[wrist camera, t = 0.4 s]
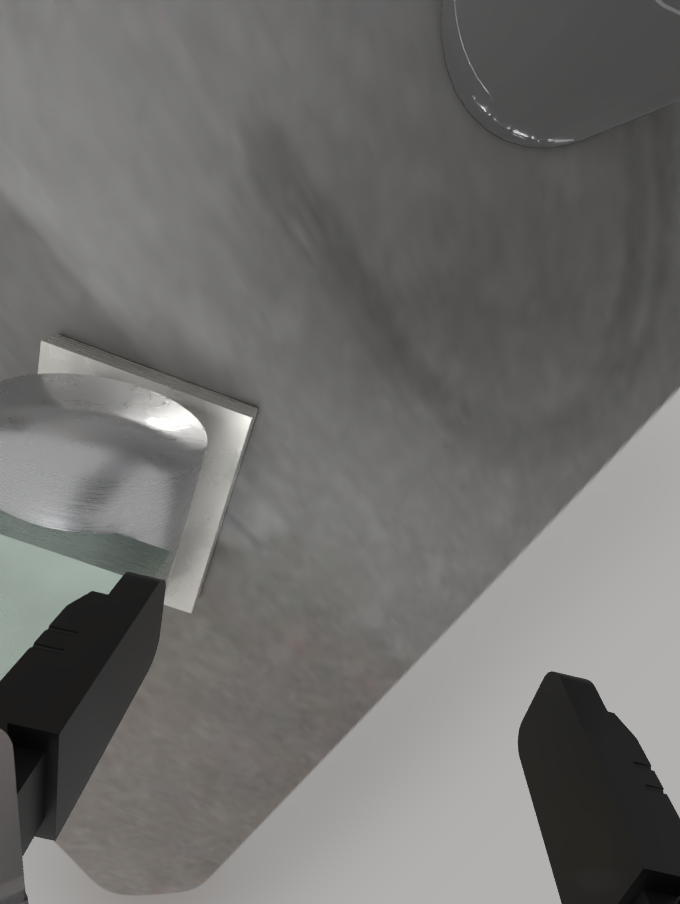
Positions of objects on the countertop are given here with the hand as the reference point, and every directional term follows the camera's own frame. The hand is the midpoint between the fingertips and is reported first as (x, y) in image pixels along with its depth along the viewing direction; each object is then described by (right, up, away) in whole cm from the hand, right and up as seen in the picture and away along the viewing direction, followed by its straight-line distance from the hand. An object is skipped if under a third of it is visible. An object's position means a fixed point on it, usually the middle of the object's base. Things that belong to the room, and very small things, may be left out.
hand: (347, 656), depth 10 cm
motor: (-12, +3, +19) cm, 23 cm away
